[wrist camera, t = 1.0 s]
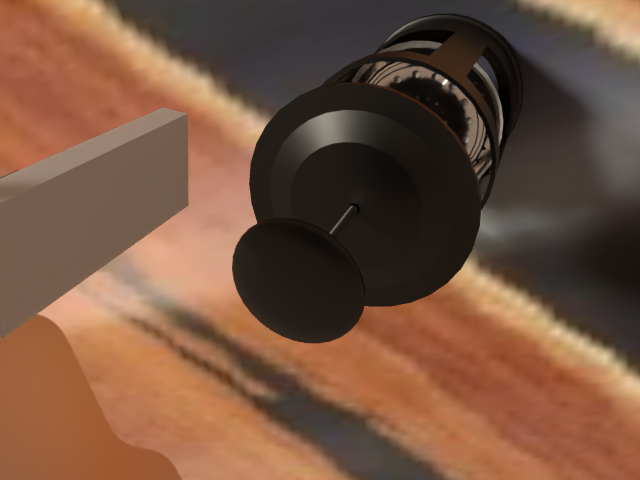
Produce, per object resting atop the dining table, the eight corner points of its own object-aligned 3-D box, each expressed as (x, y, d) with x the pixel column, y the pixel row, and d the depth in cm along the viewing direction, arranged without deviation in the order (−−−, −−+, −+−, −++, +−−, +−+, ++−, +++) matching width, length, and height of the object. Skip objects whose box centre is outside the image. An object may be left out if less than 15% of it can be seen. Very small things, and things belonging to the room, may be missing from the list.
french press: (418, -30, 33) (207, 36, 14) (565, 53, 32) (551, 241, 13) (333, 141, 40) (113, 341, 21) (453, 213, 39) (338, 490, 20)
